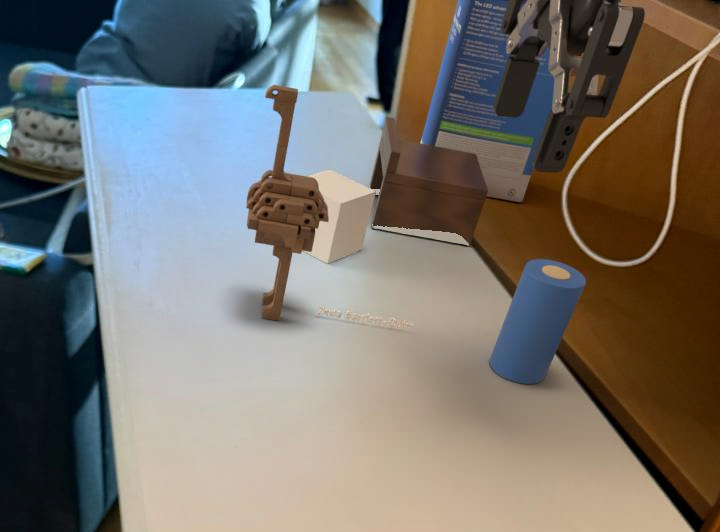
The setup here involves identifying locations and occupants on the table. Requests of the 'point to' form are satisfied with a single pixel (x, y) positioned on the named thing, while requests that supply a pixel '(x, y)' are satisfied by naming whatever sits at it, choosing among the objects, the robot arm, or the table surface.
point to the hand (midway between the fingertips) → (525, 141)
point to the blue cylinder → (536, 320)
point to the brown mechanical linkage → (287, 211)
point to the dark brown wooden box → (426, 186)
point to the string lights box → (486, 101)
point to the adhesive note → (341, 216)
